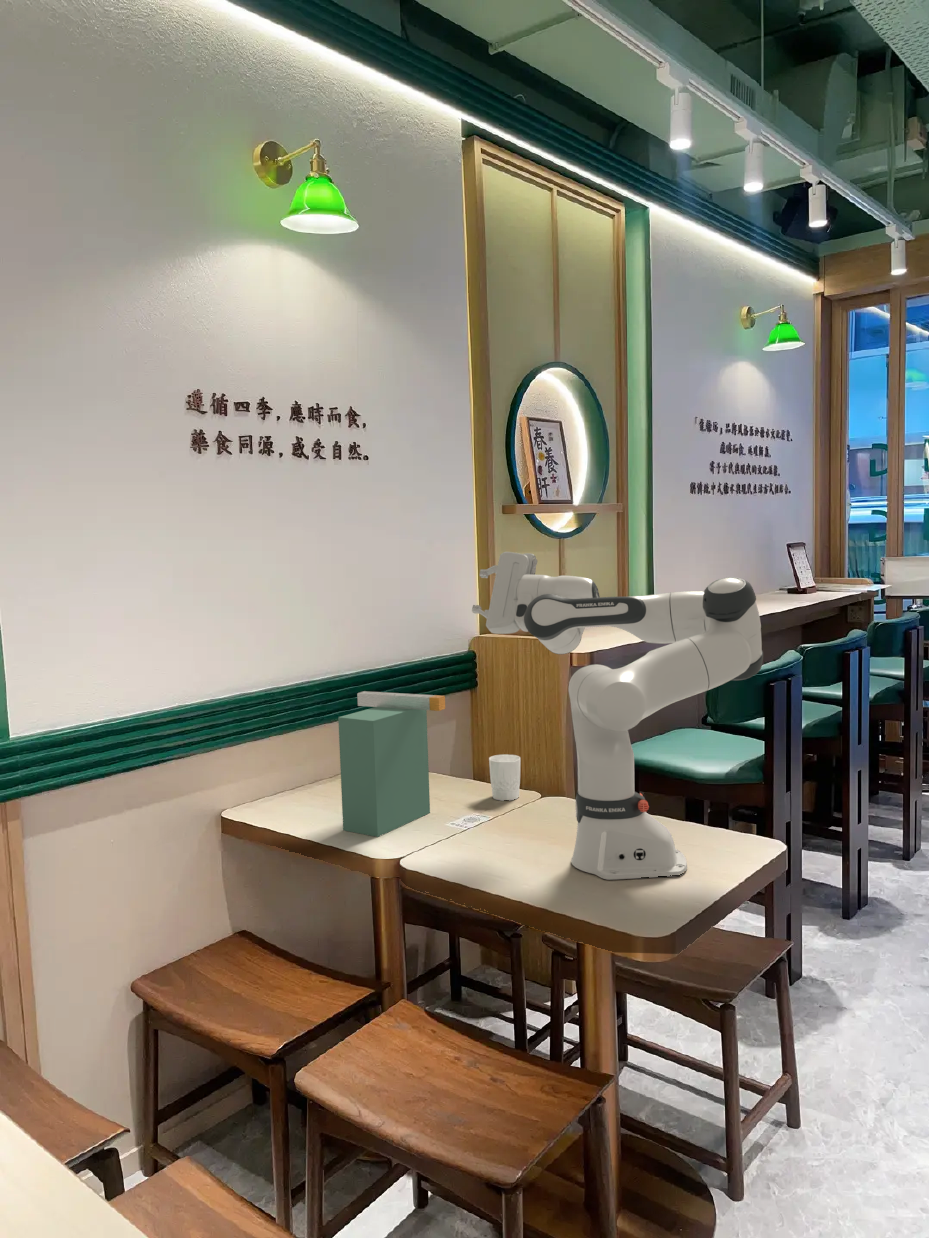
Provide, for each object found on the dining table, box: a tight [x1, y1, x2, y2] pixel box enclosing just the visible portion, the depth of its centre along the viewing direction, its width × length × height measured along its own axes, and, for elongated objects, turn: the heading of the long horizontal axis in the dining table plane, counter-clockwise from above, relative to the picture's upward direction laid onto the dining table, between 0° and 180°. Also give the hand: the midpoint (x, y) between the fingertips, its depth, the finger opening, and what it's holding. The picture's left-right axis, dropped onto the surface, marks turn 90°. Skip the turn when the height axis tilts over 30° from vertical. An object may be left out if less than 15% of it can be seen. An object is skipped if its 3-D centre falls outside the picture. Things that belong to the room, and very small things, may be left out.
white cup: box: [488, 753, 521, 802], centre depth 233 cm, size 8×8×10 cm
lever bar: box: [356, 690, 446, 712], centre depth 219 cm, size 22×3×3 cm, turn 64°
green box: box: [337, 707, 431, 838], centre depth 215 cm, size 10×20×26 cm, turn 147°
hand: (476, 591), depth 224 cm, fingers open, 8 cm apart
